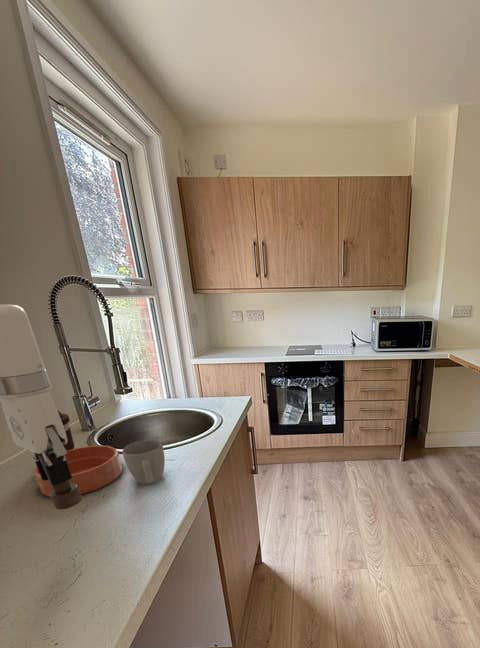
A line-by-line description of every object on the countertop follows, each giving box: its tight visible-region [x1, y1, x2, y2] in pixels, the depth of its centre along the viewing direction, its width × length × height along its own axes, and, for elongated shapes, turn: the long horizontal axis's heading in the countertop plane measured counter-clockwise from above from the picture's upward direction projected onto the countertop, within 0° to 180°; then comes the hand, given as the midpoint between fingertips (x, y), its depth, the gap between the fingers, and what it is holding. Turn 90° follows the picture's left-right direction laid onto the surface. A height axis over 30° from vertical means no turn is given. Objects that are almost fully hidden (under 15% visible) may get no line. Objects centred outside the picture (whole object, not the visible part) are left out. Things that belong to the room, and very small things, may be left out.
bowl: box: [33, 444, 123, 497], centre depth 88 cm, size 17×17×6 cm
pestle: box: [38, 450, 83, 510], centre depth 65 cm, size 4×4×11 cm
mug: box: [122, 439, 166, 486], centre depth 85 cm, size 12×9×10 cm
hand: (57, 478), depth 65 cm, fingers closed on pestle, 2 cm apart
